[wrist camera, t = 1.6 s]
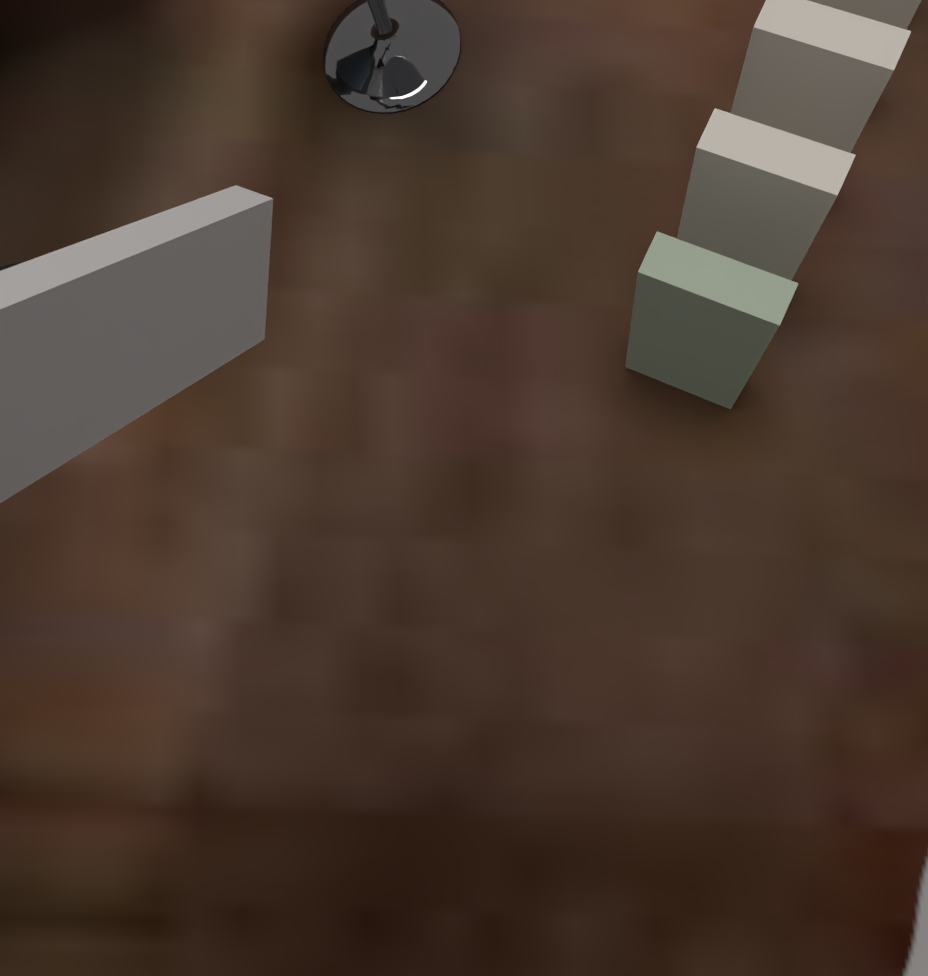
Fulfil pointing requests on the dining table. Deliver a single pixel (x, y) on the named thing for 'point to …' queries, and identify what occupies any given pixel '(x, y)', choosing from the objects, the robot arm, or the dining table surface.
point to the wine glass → (391, 53)
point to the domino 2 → (816, 70)
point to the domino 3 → (759, 193)
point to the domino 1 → (878, 9)
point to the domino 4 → (703, 319)
